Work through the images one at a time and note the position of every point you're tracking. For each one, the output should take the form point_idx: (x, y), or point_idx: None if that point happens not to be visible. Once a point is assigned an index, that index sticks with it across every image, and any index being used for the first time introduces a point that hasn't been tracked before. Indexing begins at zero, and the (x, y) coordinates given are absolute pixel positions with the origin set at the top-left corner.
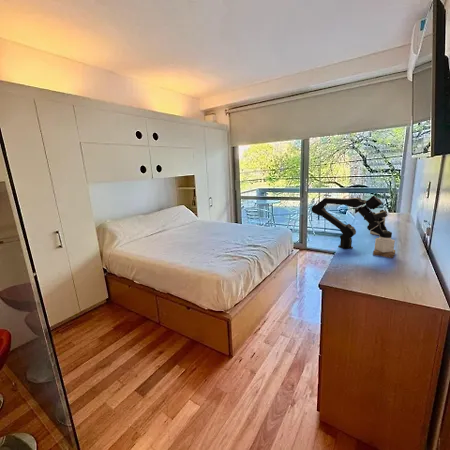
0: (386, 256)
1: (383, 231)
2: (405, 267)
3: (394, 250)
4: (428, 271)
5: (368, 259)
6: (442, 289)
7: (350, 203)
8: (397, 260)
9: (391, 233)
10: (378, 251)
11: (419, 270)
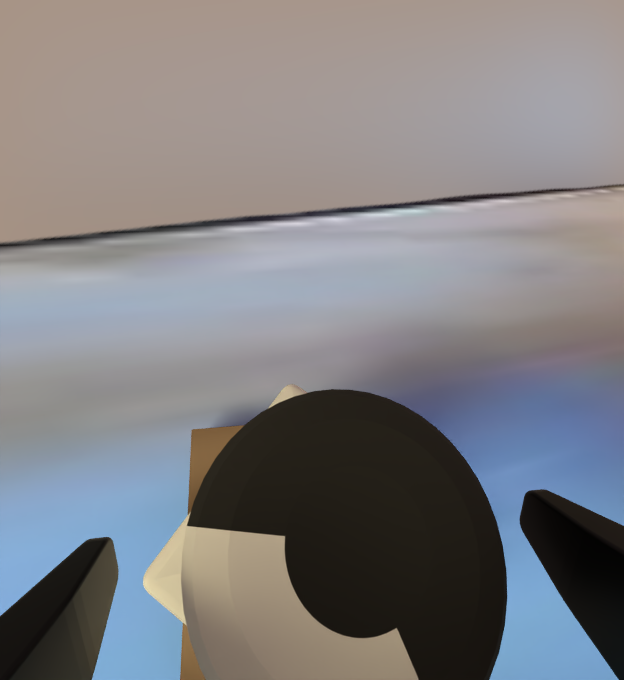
0: None
1: (431, 616)
2: (497, 317)
3: (222, 433)
4: (452, 224)
5: None
6: (614, 185)
7: None
8: (395, 382)
9: (358, 392)
10: None
11: (477, 256)
